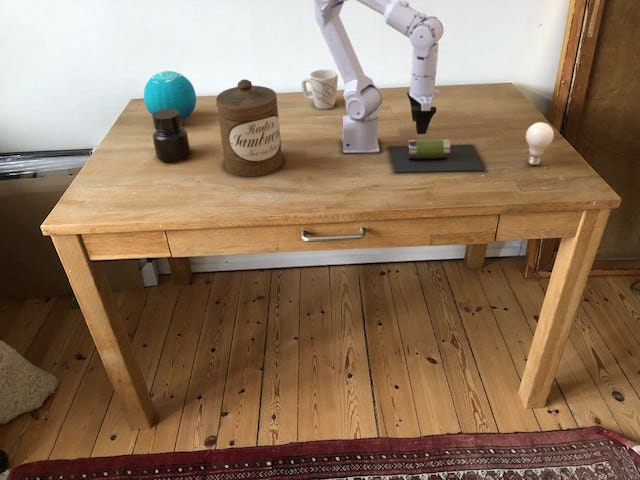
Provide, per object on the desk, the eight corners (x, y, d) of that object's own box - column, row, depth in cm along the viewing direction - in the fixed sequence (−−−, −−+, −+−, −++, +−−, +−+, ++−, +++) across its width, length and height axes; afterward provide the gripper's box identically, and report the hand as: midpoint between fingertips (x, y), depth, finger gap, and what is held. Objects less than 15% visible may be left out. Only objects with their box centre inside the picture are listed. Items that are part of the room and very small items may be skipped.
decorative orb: (176, 135, 157) (166, 84, 148) (138, 126, 163) (127, 76, 155) (210, 116, 168) (202, 68, 159) (173, 108, 174) (163, 61, 165)
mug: (298, 108, 171) (296, 77, 165) (307, 98, 177) (305, 68, 171) (333, 111, 168) (333, 79, 162) (341, 101, 174) (340, 70, 168)
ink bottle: (180, 145, 152) (172, 103, 145) (198, 154, 147) (191, 112, 140) (149, 157, 147) (139, 114, 140) (167, 167, 141) (158, 124, 134)
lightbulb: (533, 172, 134) (542, 131, 127) (514, 162, 138) (522, 121, 132) (552, 166, 136) (562, 125, 130) (533, 156, 141) (542, 116, 134)
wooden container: (240, 182, 134) (228, 96, 121) (216, 159, 144) (203, 77, 131) (292, 166, 140) (287, 82, 127) (266, 145, 150) (258, 65, 138)
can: (448, 161, 139) (408, 162, 139) (445, 152, 143) (406, 153, 143) (450, 144, 136) (409, 145, 136) (447, 135, 140) (407, 136, 140)
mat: (395, 173, 136) (395, 171, 135) (389, 147, 147) (389, 146, 147) (484, 171, 135) (484, 169, 135) (471, 145, 147) (471, 144, 146)
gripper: (446, 83, 122) (440, 139, 130) (435, 62, 134) (430, 114, 142) (414, 84, 123) (410, 140, 131) (406, 63, 134) (403, 115, 142)
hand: (419, 127), depth 136 cm, fingers open, 7 cm apart
